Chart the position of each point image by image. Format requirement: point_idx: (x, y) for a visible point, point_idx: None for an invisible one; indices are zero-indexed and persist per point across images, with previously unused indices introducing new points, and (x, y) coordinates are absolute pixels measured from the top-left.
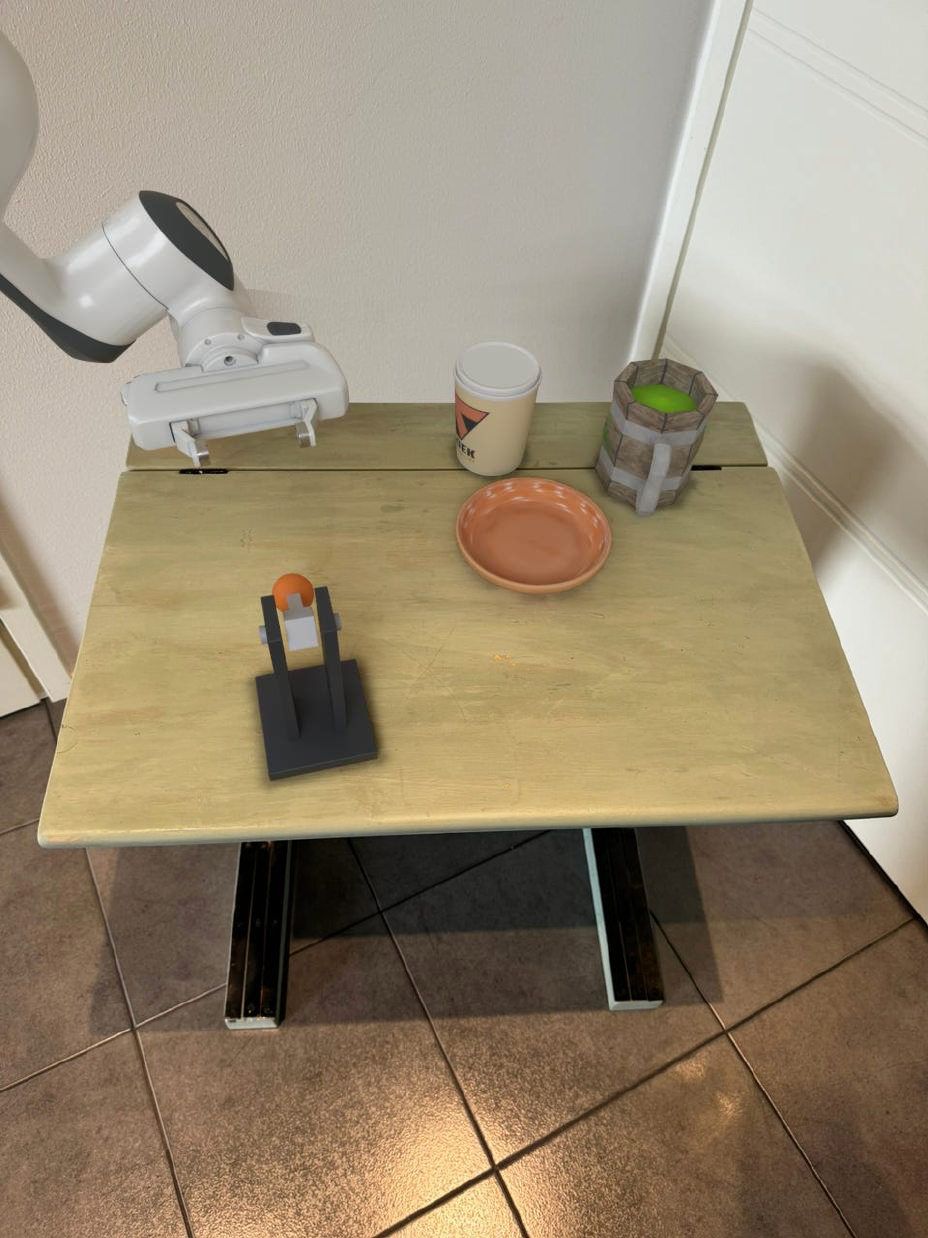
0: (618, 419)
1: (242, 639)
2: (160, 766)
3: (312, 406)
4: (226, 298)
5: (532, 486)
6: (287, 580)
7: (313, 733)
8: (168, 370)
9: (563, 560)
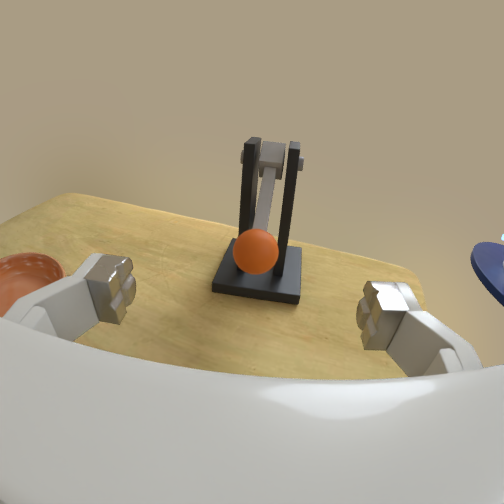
0: None
1: (304, 344)
2: (367, 279)
3: (25, 303)
4: None
5: None
6: (260, 232)
7: None
8: None
9: (14, 284)
